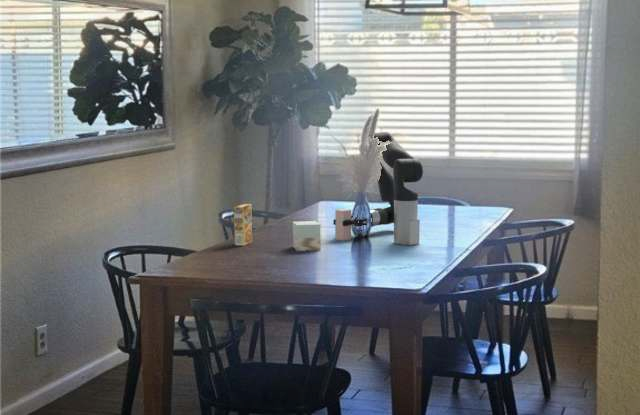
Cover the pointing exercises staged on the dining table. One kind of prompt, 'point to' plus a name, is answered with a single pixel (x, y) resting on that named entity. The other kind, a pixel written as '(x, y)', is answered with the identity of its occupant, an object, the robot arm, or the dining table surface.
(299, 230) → the tower top
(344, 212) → the pillar block
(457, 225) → the dining table surface
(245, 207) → the candy box
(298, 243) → the tower base
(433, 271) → the dining table surface
